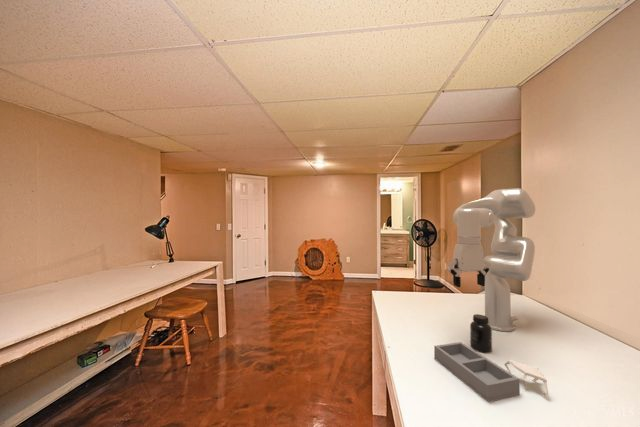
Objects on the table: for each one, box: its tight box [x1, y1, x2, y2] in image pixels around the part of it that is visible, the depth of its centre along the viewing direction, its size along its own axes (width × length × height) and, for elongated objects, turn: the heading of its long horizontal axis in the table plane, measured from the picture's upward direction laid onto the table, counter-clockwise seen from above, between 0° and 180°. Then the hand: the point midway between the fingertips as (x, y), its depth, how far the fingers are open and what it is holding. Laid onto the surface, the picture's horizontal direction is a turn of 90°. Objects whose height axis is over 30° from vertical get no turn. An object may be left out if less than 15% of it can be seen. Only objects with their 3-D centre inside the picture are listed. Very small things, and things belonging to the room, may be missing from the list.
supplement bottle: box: [469, 314, 493, 354], centre depth 95 cm, size 7×7×12 cm
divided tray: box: [434, 341, 521, 403], centre depth 79 cm, size 11×21×4 cm, turn 14°
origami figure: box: [503, 359, 549, 399], centre depth 75 cm, size 12×8×5 cm
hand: (469, 285), depth 96 cm, fingers open, 9 cm apart
